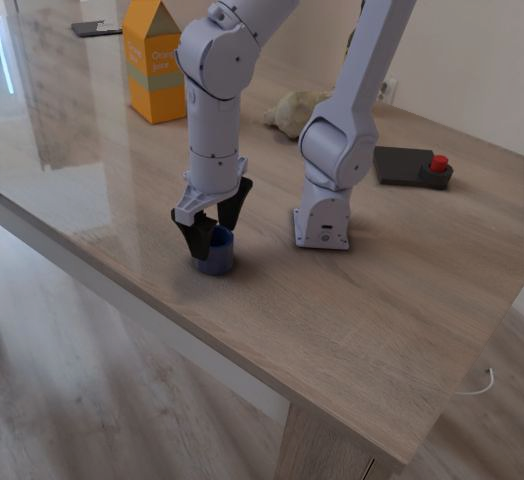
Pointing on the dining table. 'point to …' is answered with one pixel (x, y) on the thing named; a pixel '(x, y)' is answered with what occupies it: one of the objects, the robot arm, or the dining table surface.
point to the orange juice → (153, 61)
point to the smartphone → (90, 28)
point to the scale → (408, 168)
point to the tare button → (439, 163)
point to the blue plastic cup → (218, 252)
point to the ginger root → (295, 111)
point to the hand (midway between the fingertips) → (213, 242)
